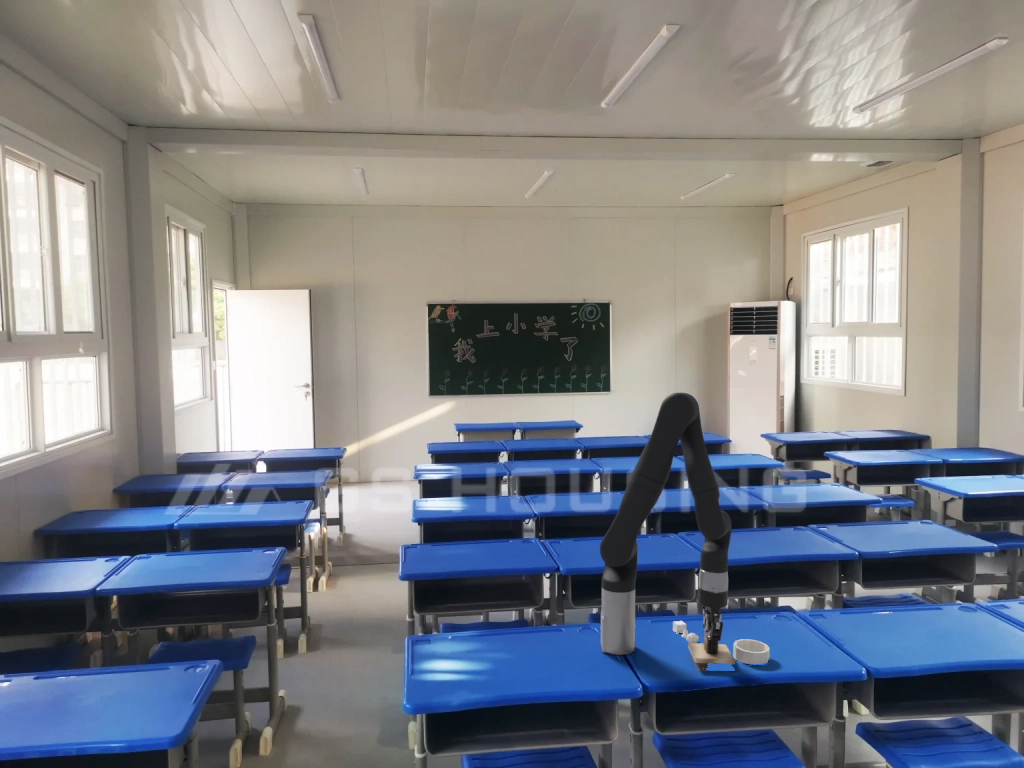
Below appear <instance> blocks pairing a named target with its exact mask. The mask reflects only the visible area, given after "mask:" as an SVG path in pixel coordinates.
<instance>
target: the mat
mask: <svg viewBox="0 0 1024 768" xmlns="http://www.w3.org/2000/svg"><path fill="white" fill-rule="evenodd" d="M689 657H690V659H691V661H692V662H693V664H694V666H695V668H696V670H697V671H698V672H707V671H706V668H708V667H707V666H708V665H707V664H708V663H696V662H695V660H694V658H693V656H692V654H690V655H689ZM703 668H704V669H703Z"/></svg>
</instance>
